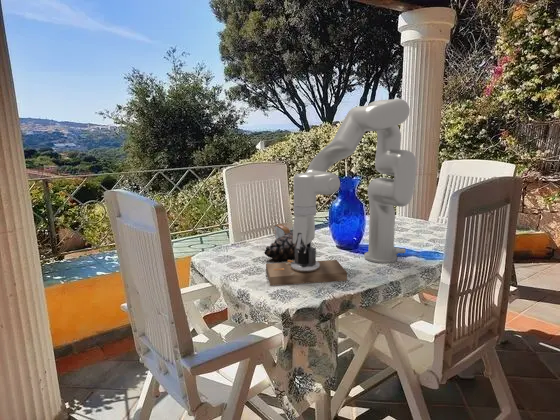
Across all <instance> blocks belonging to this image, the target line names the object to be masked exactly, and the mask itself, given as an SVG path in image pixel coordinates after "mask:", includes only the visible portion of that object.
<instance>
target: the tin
mask: <svg viewBox="0 0 560 420" xmlns="http://www.w3.org/2000/svg"><path fill="white" fill-rule="evenodd" d="M274 225H275V224H274ZM273 230H274V237H275V240H276V239H278V238H280V237H282V236H284V234H287V233H290V232H291V230H290V229H289V227H287V226H286V225H284V224H282V223H279V224H276V225H275V226H274V228H273Z"/></svg>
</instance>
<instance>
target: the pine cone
mask: <svg viewBox="0 0 560 420" xmlns="http://www.w3.org/2000/svg"><path fill="white" fill-rule="evenodd" d="M302 244H303V243H302ZM295 246H297V244H293V231H290V233H287V234H284V236H282V237H280V238H278V239H276V238H275V240H274V242H272V243H271V244H270V245H267V246H266V247H265V250H264V252H263V253H264V255H265V256H266V257H268V258H270V259H268V260H266V262H270V263H288V262H287V261H288V260H292V261H295Z"/></svg>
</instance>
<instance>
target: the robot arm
mask: <svg viewBox="0 0 560 420" xmlns="http://www.w3.org/2000/svg"><path fill="white" fill-rule="evenodd" d="M409 116H410V106H409V103H408V102H407V101H406V100H405V99H402V98H392V99H379V100H378V99H377V100H374V101H372V102H370V103H368V104H367V105H363V106H361V105H359V106H355V107H353V108H351V109H350V110H348V112H347V114H346V116H345V117H344V119H343V121H342V123H341V124H340V125H339V128H338V129H337V132H336V133H335V135H334V137H333V139H332V140H331V142H330V143H328V144H327V145H326V146H325V147H324V148H323V149H322V150H321V151H319V152H318V153H317V154H316V155H315V156H314V157H313V158H312V160H311V161H310V163H309V165H308V167H307V169H306V171H305V173H304V172H303V173H297V174H295V175H294V176H293V215H294V217H293V227H292V232H293V244H297V247H296V249H298V263H299V264H304V265H307V264H308V253H307V246H308V247H313V246H312V242H313V240H314V239H315V234H316V231H315V230H316V227H315V225H316V222H315V216H316V215H317V195H326V196H327V195H333V194H336V193H337V192H338V190H339V189H340V186H341V181H340V178H339V177H338V175H336V174H335V173H332V172H329V171H328V170H329V169H330V167H332V166H333V165H334V164H335V163H338V162H339V161H341V160H344V159H346V158H349V157H350V156H351V155H353V154H354V153H355V152H356V150H357V148H358V146H359V144H360V142H361V140H362V138H363V137H364V135H365V134H366V132H376V134H377V135H376V136H377V139H376V140H377V143H376V151H375V160H374V166H375V167H374V168H375V170H376V172H378V173H379V174H382V175H388V176H393V177H394V178H387V177H376V178H374V179H372V180H371V181H370V183H369V184H368V187H367V198H368V203H369V220H368V221H369V224H368V251H367V252H364V254H363V258H364V259H365V260H367V261H369V262H372V263H379V264H389V263H394V262H396V261H397V260H398V254H406V252H407V251H406V248H405V247H404V248H400V247H398V246H397V247H395V246H394V245H395V226H396V225H395V224H396V212H395V207H400V208H401V207H406V206H408V205H409V204H410V202H411V201H412V200H413V196H414V192H415V191H414V190H415V183H416V176H417V170H418V169H417V167H418V163H417V158H416V155H415V154H414V153H413V152H412V151H410V150H406V149H401V144H402V133H401V132H402V131H401V130H400V127H399V125H401V124H403V123H405V122H406V121H407V119H408V118H409ZM302 243H303V244H302ZM302 246H304V248H303V247H302Z"/></svg>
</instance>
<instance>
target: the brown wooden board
mask: <svg viewBox="0 0 560 420" xmlns="http://www.w3.org/2000/svg"><path fill="white" fill-rule="evenodd" d="M316 261H317V262H319V263H320V268H319V269H318V270H316V271H313V272H298V271H295V270H293V269H291V263H290V262H272V263H266V264H265V272H266V276H267V279H268V283H269V286H271V287H272V286H283V285H285V286H286V285H287V286H288V285H301V284H315V283H316V284H317V283H329V282H330V283H333V282H345V281H347V280H348V272H347V270H346V269H345V268H344V267H343V266H342V265H341V263H340V262H339V261H338V259H329V260H328V259H327V260H316Z"/></svg>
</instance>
